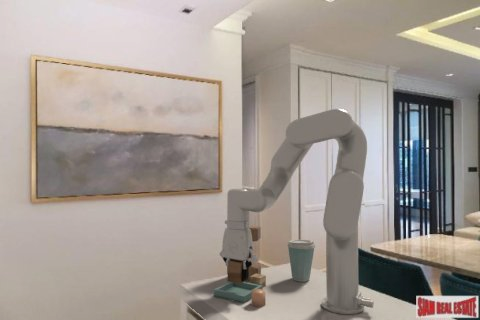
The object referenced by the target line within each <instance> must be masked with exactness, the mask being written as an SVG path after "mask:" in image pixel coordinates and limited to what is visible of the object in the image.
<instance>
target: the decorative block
mask: <svg viewBox="0 0 480 320" xmlns="http://www.w3.org/2000/svg"><path fill="white" fill-rule="evenodd" d="M249 229H250V230H251V234H252V242H257V241H259V240H260V239H261V235H262V234H261V232H262V231H261V229H262V228H261V226H260V225H249ZM250 260H251V258H249V261H250ZM254 274H261V275H262V267H261V265H260V264H259V263H256V262H255V263H253V264H252V265H251V266H250V267H249V277H248V280H247V281H251V276H252V275H254Z"/></svg>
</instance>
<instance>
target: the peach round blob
mask: <svg viewBox="0 0 480 320" xmlns="http://www.w3.org/2000/svg"><path fill="white" fill-rule="evenodd" d="M250 301H251V306H252V307H255V308H262V307H265V306H266V290H264V289H263V290H262V289H254V290H252V291H251V300H250Z"/></svg>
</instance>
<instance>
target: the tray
mask: <svg viewBox="0 0 480 320" xmlns="http://www.w3.org/2000/svg"><path fill="white" fill-rule="evenodd" d="M254 289H262V290H264V288H263V286H262V285H257V284H252V283H251V282H247V281H245V282H243V283H241V284H237V283H233V282H228V281H227V282H226V283H224V284H223V285H220V286H218V287H216V288H214V289H213V297H216V298H219V297H220V299H225V300H229V301H231V302H235V303H240V304H246V303H247V302H249V301H251V291H252V290H254Z"/></svg>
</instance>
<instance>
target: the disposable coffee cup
mask: <svg viewBox="0 0 480 320" xmlns="http://www.w3.org/2000/svg"><path fill="white" fill-rule="evenodd" d="M287 248H288V255H289V263H290V271H291V278H292V280H293V281H296V282H308V281H310V278H311V271H312V265H313V259H314V252H315V248H316V245H315V242H314V240H311V239H292V240H289V241H288V242H287Z"/></svg>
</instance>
